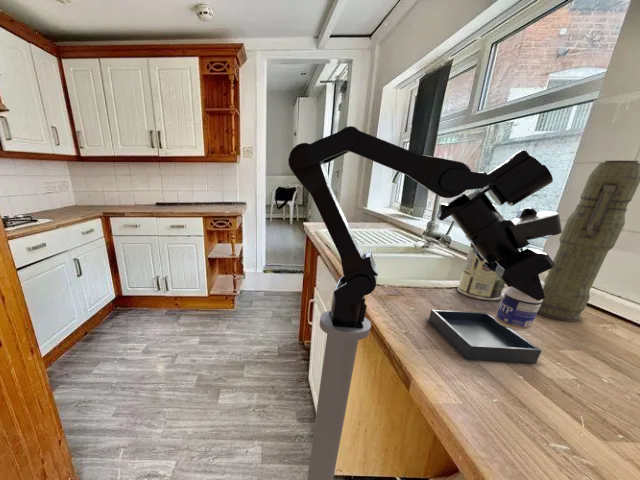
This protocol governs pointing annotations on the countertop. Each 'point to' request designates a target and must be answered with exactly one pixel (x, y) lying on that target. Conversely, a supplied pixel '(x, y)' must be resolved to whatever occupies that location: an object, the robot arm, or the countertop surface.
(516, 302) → the pill bottle
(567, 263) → the stone statue
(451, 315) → the tray
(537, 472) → the countertop surface
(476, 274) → the coffee can
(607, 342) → the countertop surface
